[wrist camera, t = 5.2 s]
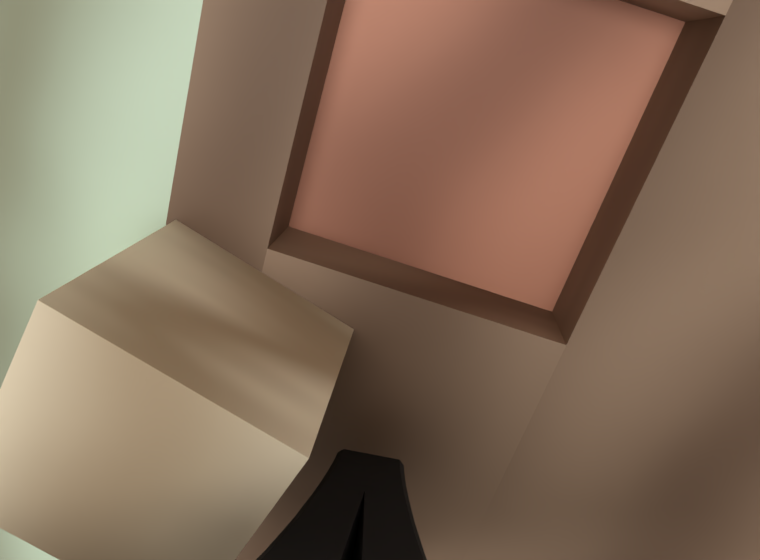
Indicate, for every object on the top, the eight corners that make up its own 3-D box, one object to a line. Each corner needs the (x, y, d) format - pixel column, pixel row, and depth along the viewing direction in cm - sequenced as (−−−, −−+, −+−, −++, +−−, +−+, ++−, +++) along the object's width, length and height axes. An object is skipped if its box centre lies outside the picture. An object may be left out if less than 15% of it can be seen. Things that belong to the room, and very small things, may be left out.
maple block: (353, 329, 11) (308, 458, 8) (261, 463, 13) (185, 627, 9) (176, 219, 11) (37, 299, 7) (100, 370, 12) (-49, 502, 9)
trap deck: (1175, 120, 10) (1332, 133, 9) (630, 798, 19) (650, 880, 17) (-100, -301, 10) (-220, -380, 8) (-90, 570, 18) (-151, 628, 16)
